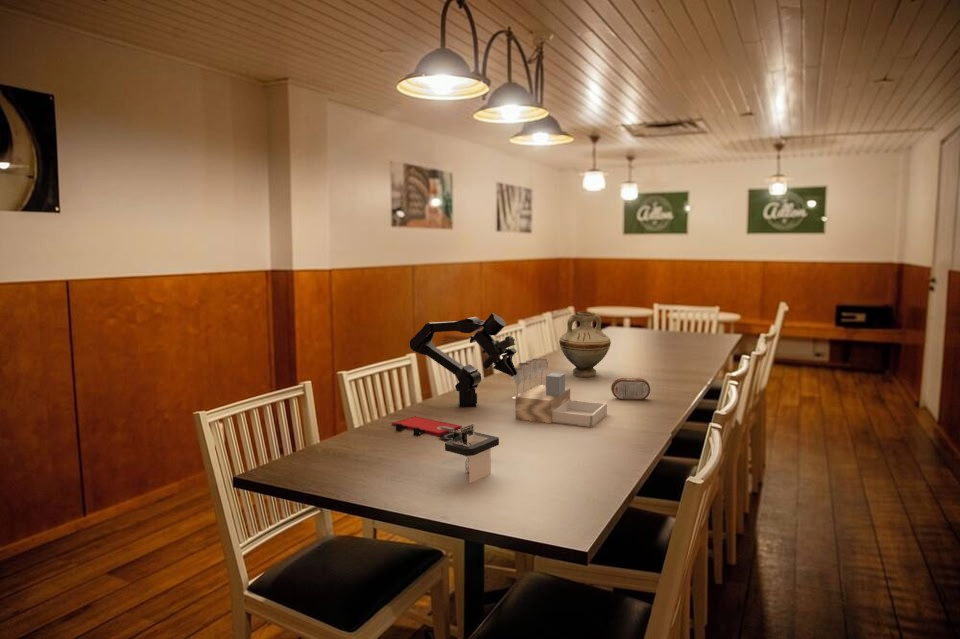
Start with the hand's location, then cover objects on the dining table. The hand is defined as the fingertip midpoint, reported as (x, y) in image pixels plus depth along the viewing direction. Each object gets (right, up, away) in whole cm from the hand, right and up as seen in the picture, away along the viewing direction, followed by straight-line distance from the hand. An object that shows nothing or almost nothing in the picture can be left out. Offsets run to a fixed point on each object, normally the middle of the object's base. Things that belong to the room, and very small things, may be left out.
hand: (514, 375), depth 230 cm
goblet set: (+8, -10, +31) cm, 34 cm away
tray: (+22, -15, -10) cm, 28 cm away
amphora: (+36, -6, +62) cm, 72 cm away
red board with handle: (-30, -17, -21) cm, 40 cm away
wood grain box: (+10, -14, -4) cm, 18 cm away
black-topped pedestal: (-16, -22, -63) cm, 68 cm away
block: (+14, -6, -7) cm, 17 cm away
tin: (+47, -11, +16) cm, 51 cm away
